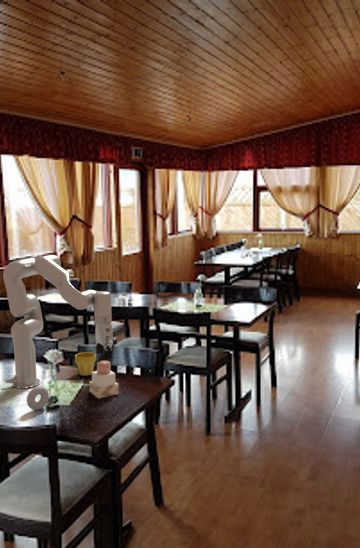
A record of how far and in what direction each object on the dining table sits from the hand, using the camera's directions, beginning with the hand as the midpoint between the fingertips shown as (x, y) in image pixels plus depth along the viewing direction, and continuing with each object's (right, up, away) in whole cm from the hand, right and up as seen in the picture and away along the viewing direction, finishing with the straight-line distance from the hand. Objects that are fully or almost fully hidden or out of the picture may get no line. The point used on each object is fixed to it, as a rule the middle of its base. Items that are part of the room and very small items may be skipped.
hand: (103, 356), depth 248 cm
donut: (-25, -20, -17) cm, 37 cm away
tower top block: (0, -12, +1) cm, 12 cm away
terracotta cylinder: (0, -7, 0) cm, 7 cm away
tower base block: (0, -17, +2) cm, 17 cm away
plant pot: (-13, -13, +29) cm, 34 cm away
